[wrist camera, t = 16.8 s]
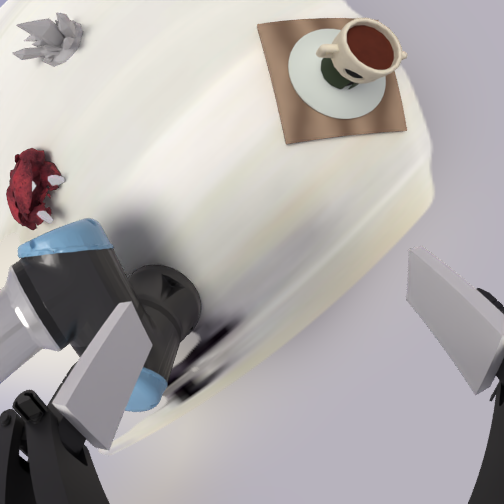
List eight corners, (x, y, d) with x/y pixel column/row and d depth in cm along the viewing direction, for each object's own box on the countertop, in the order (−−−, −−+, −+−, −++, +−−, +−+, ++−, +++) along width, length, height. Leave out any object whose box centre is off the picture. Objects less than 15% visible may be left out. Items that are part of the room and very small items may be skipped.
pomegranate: (26, 154, 39) (6, 140, 30) (75, 158, 43) (60, 142, 34) (9, 225, 39) (-14, 222, 30) (58, 234, 42) (39, 232, 34)
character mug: (307, 94, 34) (330, 72, 21) (299, 50, 31) (317, 13, 19) (377, 94, 33) (422, 79, 21) (369, 52, 30) (409, 24, 18)
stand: (285, 144, 39) (286, 144, 37) (257, 28, 31) (257, 24, 30) (402, 130, 37) (407, 130, 35) (374, 23, 30) (378, 20, 28)
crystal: (39, 40, 29) (-8, 29, 15) (88, 11, 28) (44, -14, 14) (37, 78, 32) (-15, 73, 18) (87, 50, 32) (36, 31, 18)
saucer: (300, 124, 36) (301, 124, 35) (277, 34, 31) (278, 32, 30) (391, 116, 35) (394, 115, 34) (369, 31, 29) (371, 29, 28)
